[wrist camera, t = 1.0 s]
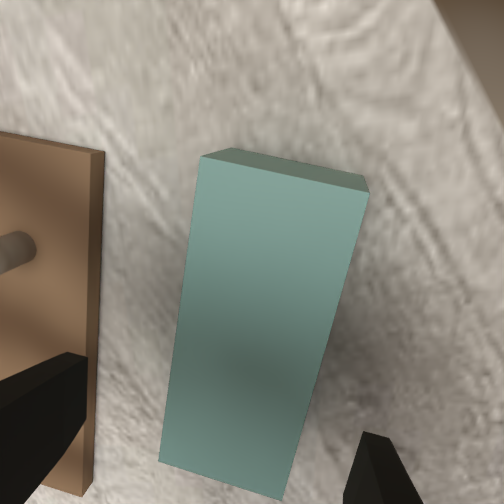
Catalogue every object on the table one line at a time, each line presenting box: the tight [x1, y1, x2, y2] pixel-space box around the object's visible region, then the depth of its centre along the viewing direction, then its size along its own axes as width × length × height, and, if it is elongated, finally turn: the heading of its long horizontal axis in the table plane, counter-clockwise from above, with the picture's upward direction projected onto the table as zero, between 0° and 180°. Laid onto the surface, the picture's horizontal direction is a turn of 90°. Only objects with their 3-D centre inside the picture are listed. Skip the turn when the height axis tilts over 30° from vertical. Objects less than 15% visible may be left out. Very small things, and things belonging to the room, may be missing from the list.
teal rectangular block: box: [158, 148, 370, 501], centre depth 16 cm, size 12×5×4 cm, turn 169°
